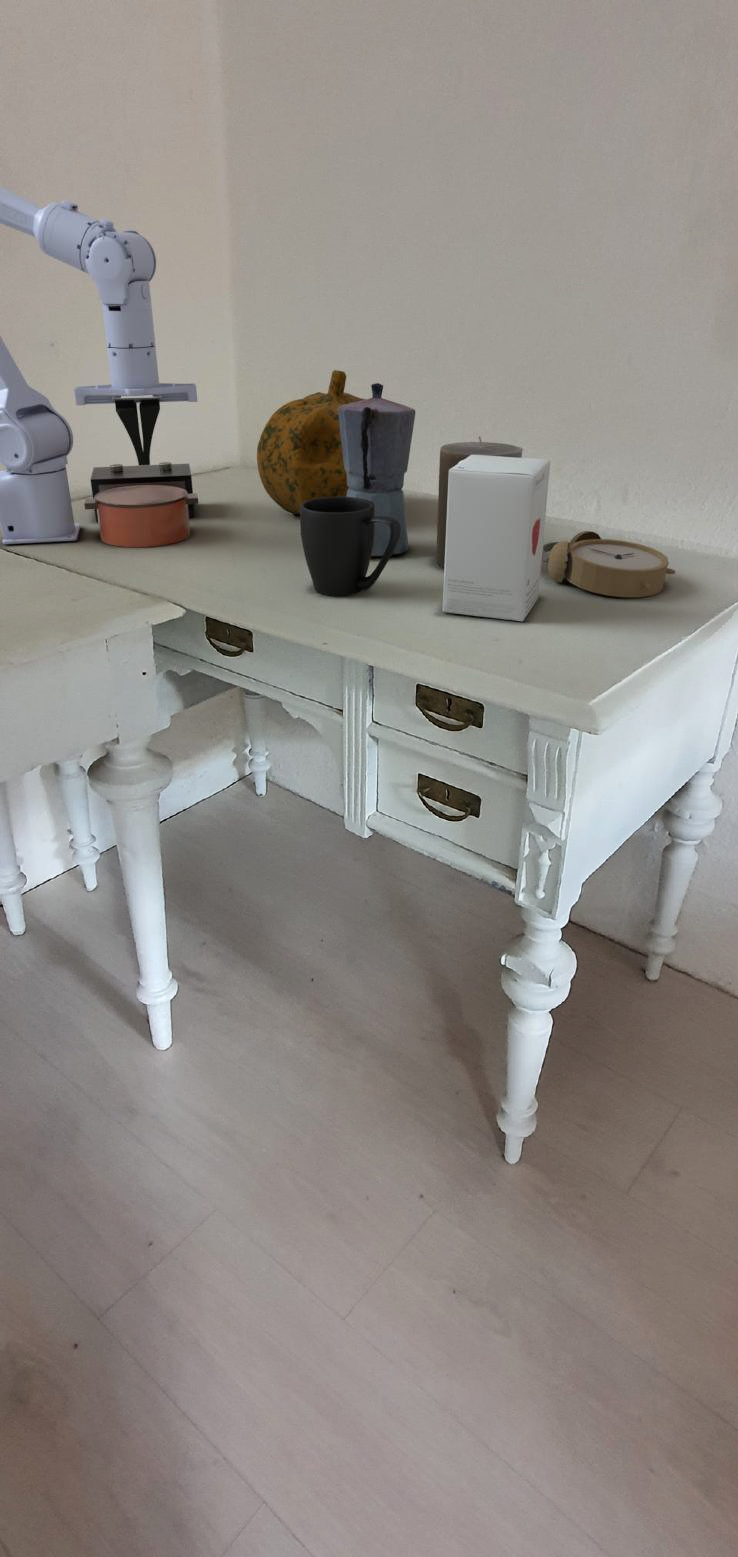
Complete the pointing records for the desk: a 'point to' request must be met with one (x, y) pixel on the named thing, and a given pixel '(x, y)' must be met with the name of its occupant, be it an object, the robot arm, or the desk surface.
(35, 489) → the robot arm
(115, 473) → the appliance
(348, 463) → the moka pot
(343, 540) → the mug
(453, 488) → the rectangular carton
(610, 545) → the alarm clock
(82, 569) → the desk surface
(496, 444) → the pillar candle
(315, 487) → the decorative pumpkin
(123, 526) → the saucepan
